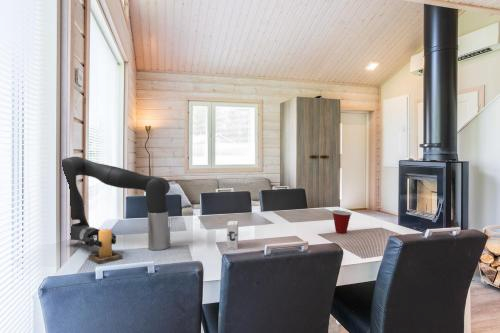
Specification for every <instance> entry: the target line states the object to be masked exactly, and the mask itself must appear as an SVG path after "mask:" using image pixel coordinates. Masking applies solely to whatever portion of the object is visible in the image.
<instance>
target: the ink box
mask: <svg viewBox="0 0 500 333" xmlns="http://www.w3.org/2000/svg"><path fill="white" fill-rule="evenodd" d="M226 232H227V234H226V241H227V244H226V247H227V248H226V249H227V250H238V248H239V220H229V221H228V222H227V224H226Z"/></svg>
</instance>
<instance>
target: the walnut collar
mask: <svg viewBox="0 0 500 333" xmlns="http://www.w3.org/2000/svg"><path fill="white" fill-rule="evenodd" d="M87 257H88V259H87V260H90V261H92V262H93V263H94V264H97V265H102V264H105V263H111V262H113V261H118V260H121V259H123V254H121V253H119V252H116V250H115V251H114V250H112V256H111V257H107V258H103V259H99V252H97V253H93V254H89V255H88V256H87Z"/></svg>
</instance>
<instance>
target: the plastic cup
mask: <svg viewBox="0 0 500 333" xmlns="http://www.w3.org/2000/svg"><path fill="white" fill-rule="evenodd" d="M331 212H332V216H333V222H334V229H335V233H336V234H342V235H343V234H347V232H348V229H349V228H348V227H349V222H350V218H351V216H352V215H353V213H352V212H350V211H346V210H339V209H338V210H335V209H334V210H332V211H331Z"/></svg>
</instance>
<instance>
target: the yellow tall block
mask: <svg viewBox="0 0 500 333" xmlns="http://www.w3.org/2000/svg"><path fill="white" fill-rule="evenodd" d="M99 230H100V229H99ZM112 233H113V232H112V229H109V228H108V229H106V228H105V229H101V230H100V231H99V241H101V242H102V247H98V253H99V259H103V258H107V257H111V256H112V251H113V250H112V249H113V248H112V246H113V244H112Z"/></svg>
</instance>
